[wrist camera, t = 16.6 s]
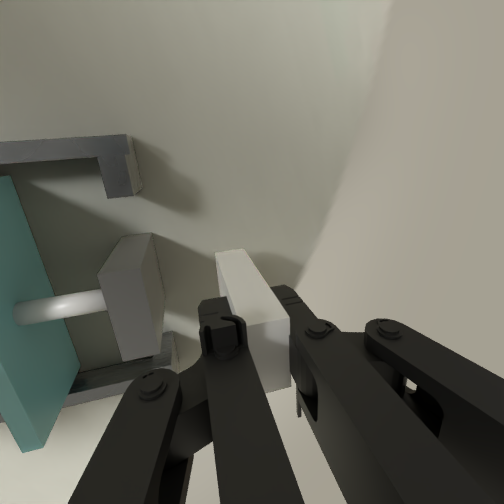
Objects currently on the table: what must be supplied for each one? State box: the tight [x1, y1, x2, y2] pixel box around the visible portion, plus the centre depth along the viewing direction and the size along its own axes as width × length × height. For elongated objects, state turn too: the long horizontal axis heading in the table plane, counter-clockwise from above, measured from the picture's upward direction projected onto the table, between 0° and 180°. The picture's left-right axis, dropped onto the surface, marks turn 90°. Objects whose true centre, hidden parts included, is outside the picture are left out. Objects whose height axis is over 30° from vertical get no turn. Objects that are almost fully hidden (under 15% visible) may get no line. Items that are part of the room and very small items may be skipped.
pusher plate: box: [0, 175, 165, 453], centre depth 13 cm, size 6×11×5 cm, turn 4°
